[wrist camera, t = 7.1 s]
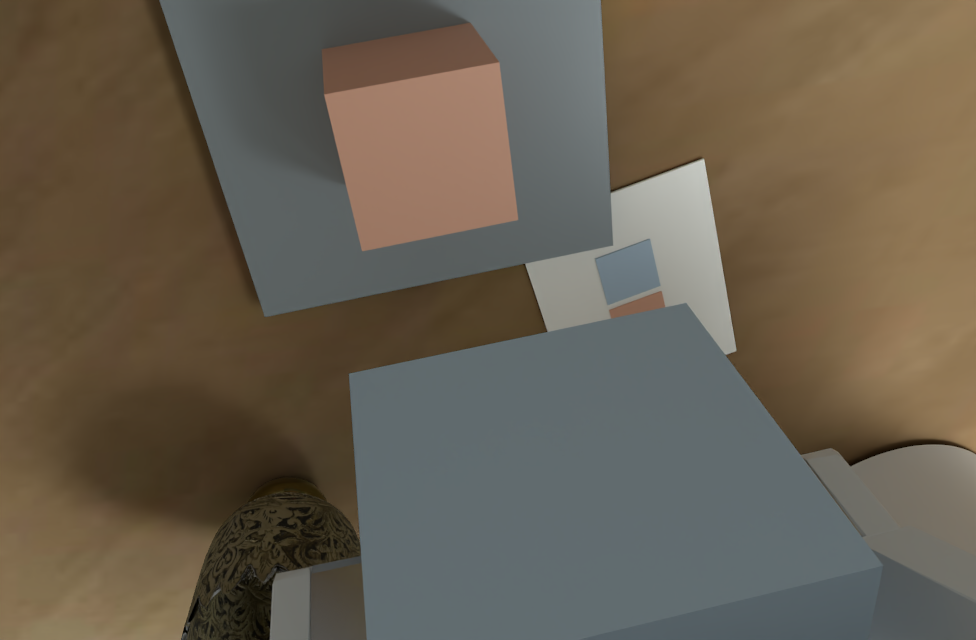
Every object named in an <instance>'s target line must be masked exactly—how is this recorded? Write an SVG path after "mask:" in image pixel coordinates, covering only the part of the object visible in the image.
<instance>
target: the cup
mask: <svg viewBox="0 0 976 640" xmlns="http://www.w3.org/2000/svg"><path fill="white" fill-rule="evenodd" d="M358 556H361V546H360V542H359V539H358V537H357V535H356V533H355V530H354V528H353V527H352V525H351V524H350V522H349V521H348V520H347V518H346V517H345V516H344V515H343V514H342V513H341V512H340V511H339V510H338V509H337V508H335V507H334V506H333V505H331V504H330V503H328V502H327V500H326V498H325V497H324V495H323V494H322V492H321V491H320V490H319V489H318V488H317V487H316V486H315V485H314V484H312V483H311V482H309V481H306V480H304V479H300V478H295V477H284V478H278V479H274V480H271V481H269V482H267V483H265V484H263V485H262V486H261V487H259V488H258V489H257V490H256V491H255V492H254V494H253V495H252V496H251V498H250V499H249V501H248V503H247V504H245V505H244V506H242V507H241V508H239V509H238V510H237V511H235V512H234V513H233V514H232V515H231V516H230V517H229V518H228V519H227V520H226V521H225V522H224V524H223V525H222V526H221V527H220V529H219V530H218V532H217V533H216V535H215V537H214V539H213V541H212V543H211V545H210V547H209V550H208V552H207V555H206V557H205V560H204V563H203V566H202V569H201V573H200V576H199V579H198V582H197V586H196V589H195V593H194V596H193V599H192V603H191V606H190V610H189V613H188V617H187V620H186V623H185V627H184V630H183V634H182V638H181V640H270V624H271V604H272V584H273V581H274V579H275V576H276V574H277V573H282V572H287V571H292V570H297V569H301V568H306V567H311V566H313V565H318V564H323V563H328V562H333V561H338V560H343V559H348V558H353V557H358Z"/></svg>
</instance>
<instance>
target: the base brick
mask: <svg viewBox="0 0 976 640" xmlns="http://www.w3.org/2000/svg"><path fill="white" fill-rule="evenodd" d="M322 63H323V83H324V96H325V100H326V104H327V109H328V113H329V117H330V121H331V125H332V129H333V133H334V137H335V142H336V146H337V150H338V154H339V158H340V162H341V166H342V170H343V175H344V179H345V183H346V187H347V191H348V195H349V199H350V203H351V207H352V212H353V216H354V220H355V224H356V228H357V232H358V236H359V240H360V245H361V249H362V251H367V250H372V249H377V248H382V247H387V246H392V245H397V244H402V243H407V242H412V241H417V240H421V239H426V238H431V237H436V236H441V235H446V234H451V233H456V232H461V231H466V230H471V229H476V228H481V227H486V226H491V225H496V224H501V223H506V222H511V221H516V220H518V213H517V205H516V196H515V188H514V180H513V171H512V163H511V155H510V146H509V138H508V130H507V122H506V113H505V105H504V97H503V88H502V80H501V72H500V64H499V61H498V60H497V58H496V57H495V56H494V54H493V53H492V51H491V50H490V49H489V47H488V46H487V45H486V43H485V42H484V40H483V39H482V38H481V36H480V35H479V34H478V32H477V31H476V29H475V28H474V27H473V25H472V24H471V23H466V24H460V25H454V26H449V27H443V28H438V29H432V30H427V31H421V32H416V33H410V34H404V35H399V36H393V37H388V38H382V39H377V40H371V41H366V42H360V43H354V44H349V45H343V46H338V47H332V48H327V49H322Z"/></svg>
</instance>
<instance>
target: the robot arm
mask: <svg viewBox="0 0 976 640" xmlns="http://www.w3.org/2000/svg"><path fill="white" fill-rule="evenodd" d="M801 457H802V458H803V459H804V461H805V462H806V463H807V465H808V466H809V467H810V468H811V470H812V471H813V472H814V474H815V475H816V476H817V478H818V479H819V480H820V482H821V483H822V484H823V486H824V487H825V488H826V490H827V491H828V492H829V494H830V495H831V496H832V498H833V499H834V500H835V502H836V503H837V504H838V506H839V507H840V508H841V510H842V511H843V512H844V514H845V515H846V516H847V518H848V519H849V520H850V522H851V523H852V524H853V526H854V527H855V528H856V530H857V531H858V532H859V534H860V535H861V536H862V538H863V539H864V540H865V542H866V543H867V544H868V546H869V547H870V548H871V550H872V551H873V552H874V554H875V555H876V556H877V558H878V559H879V560H880V562H881V563H882V564H883V570H882V575H881V580H880V584H879V589H878V594H877V599H876V604H875V609H874V614H873V618H872V623H871V628H870V633H869V638H868V640H976V454H974V453H972V452H970V451H968V450H965V449H962V448H959V447H954V446H949V445H917V446H910V447H905V448H900V449H896V450H892V451H888V452H885V453H882V454H879V455H876V456H873V457H871V458H868V459H866V460H863V461H861V462H859V463H857V464H855V465H853V466H851V467H850V466H849V464H848V463H847V462H846V461H845V460H844V458H843V457H842V456H841V455H840V454H839V452H837V451H836V450H834V449H832V448H829V449H825V450H820V451H816V452H812V453H807V454H803V455H801ZM270 640H367V635H366V620H365V605H364V591H363V576H362V561H361V556H358V557H353V558H348V559H343V560H338V561H333V562H328V563H323V564H318V565H313V566H311V567H306V568H301V569H297V570H292V571H287V572H282V573H277V574H276V576H275V579H274V581H273V584H272V604H271V624H270Z"/></svg>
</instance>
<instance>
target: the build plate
mask: <svg viewBox="0 0 976 640" xmlns="http://www.w3.org/2000/svg"><path fill="white" fill-rule="evenodd" d="M159 1H160V4H161V7H162V10H163V13H164V16H165V19H166V22H167V25H168V28H169V31H170V34H171V37H172V40H173V43H174V46H175V49H176V52H177V55H178V58H179V61H180V64H181V67H182V70H183V73H184V76H185V79H186V82H187V85H188V88H189V91H190V94H191V97H192V100H193V103H194V106H195V109H196V112H197V115H198V118H199V121H200V124H201V127H202V130H203V133H204V136H205V139H206V142H207V145H208V148H209V151H210V154H211V157H212V160H213V163H214V166H215V169H216V172H217V175H218V178H219V181H220V184H221V187H222V190H223V193H224V196H225V199H226V202H227V205H228V208H229V211H230V214H231V217H232V220H233V223H234V226H235V229H236V232H237V235H238V238H239V241H240V244H241V247H242V250H243V253H244V256H245V259H246V262H247V265H248V268H249V271H250V274H251V277H252V280H253V283H254V286H255V289H256V292H257V295H258V298H259V301H260V304H261V307H262V310H263V313H264V316H265V317H268V316H273V315H278V314H283V313H288V312H292V311H297V310H302V309H307V308H312V307H317V306H322V305H326V304H331V303H336V302H341V301H346V300H351V299H356V298H360V297H365V296H370V295H375V294H380V293H385V292H390V291H394V290H399V289H404V288H409V287H414V286H419V285H424V284H429V283H433V282H438V281H443V280H448V279H453V278H458V277H463V276H467V275H472V274H477V273H482V272H487V271H492V270H497V269H501V268H506V267H511V266H516V265H521V264H526V263H531V262H535V261H540V260H545V259H550V258H555V257H560V256H565V255H570V254H574V253H579V252H584V251H589V250H594V249H599V248H604V247H608V246H613V232H612V212H611V192H610V173H609V153H608V134H607V114H606V94H605V75H604V55H603V35H602V16H601V0H159ZM466 23H471V24H472V25H473V27H474V28H475V29H476V31H477V32H478V34H479V35H480V36H481V38H482V39H483V40H484V42H485V43H486V45H487V46H488V47H489V49H490V50H491V51H492V53H493V54H494V56H495V57H496V58H497V60H498V61H499V64H500V72H501V80H502V88H503V97H504V105H505V113H506V122H507V130H508V138H509V146H510V155H511V163H512V171H513V180H514V188H515V196H516V205H517V213H518V220H516V221H511V222H506V223H501V224H496V225H491V226H486V227H481V228H476V229H471V230H466V231H461V232H456V233H451V234H446V235H441V236H436V237H431V238H426V239H421V240H417V241H412V242H407V243H402V244H397V245H392V246H387V247H382V248H377V249H372V250H367V251H362V249H361V245H360V240H359V236H358V232H357V228H356V224H355V220H354V216H353V212H352V207H351V203H350V199H349V195H348V191H347V187H346V183H345V179H344V175H343V170H342V166H341V162H340V158H339V154H338V150H337V146H336V142H335V137H334V133H333V129H332V125H331V121H330V117H329V113H328V109H327V104H326V100H325V96H324V83H323V63H322V49H327V48H332V47H338V46H343V45H349V44H354V43H360V42H366V41H371V40H377V39H382V38H388V37H393V36H399V35H404V34H410V33H416V32H421V31H427V30H432V29H438V28H443V27H449V26H454V25H460V24H466Z"/></svg>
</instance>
